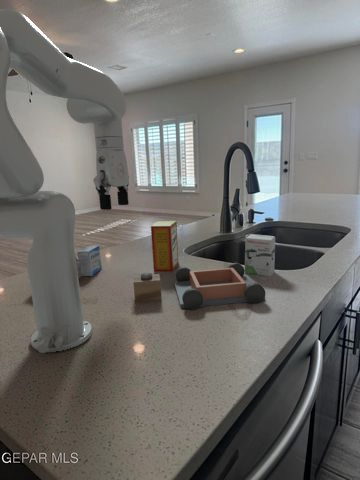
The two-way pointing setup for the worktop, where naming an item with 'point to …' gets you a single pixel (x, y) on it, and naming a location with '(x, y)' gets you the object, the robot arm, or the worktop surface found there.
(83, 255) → the medicine box
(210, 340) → the worktop surface
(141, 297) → the tan block
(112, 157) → the robot arm
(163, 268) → the baking soda box
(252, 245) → the ink box
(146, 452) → the worktop surface
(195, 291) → the chassis
